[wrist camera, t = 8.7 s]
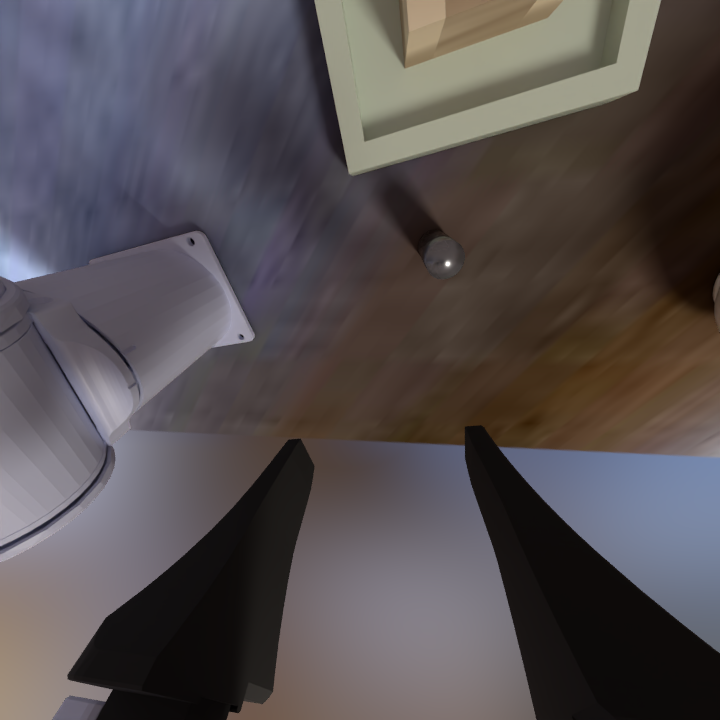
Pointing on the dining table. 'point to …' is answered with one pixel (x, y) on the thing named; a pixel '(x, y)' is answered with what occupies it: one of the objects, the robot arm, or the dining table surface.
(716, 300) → the lidded jar
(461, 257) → the post
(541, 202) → the dining table surface
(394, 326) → the dining table surface
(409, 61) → the wooden frame with tab
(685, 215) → the dining table surface
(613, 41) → the sage tray
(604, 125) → the dining table surface
